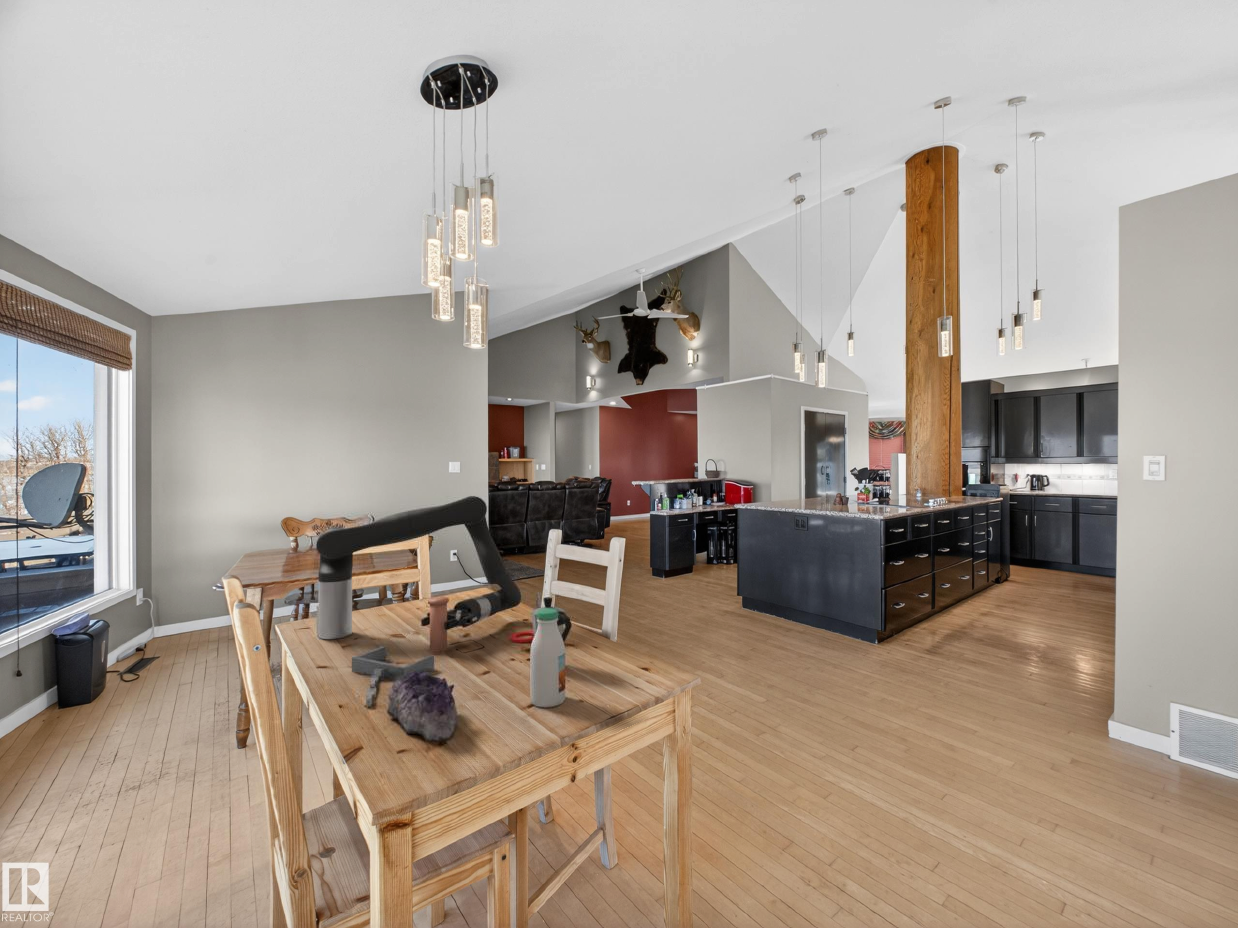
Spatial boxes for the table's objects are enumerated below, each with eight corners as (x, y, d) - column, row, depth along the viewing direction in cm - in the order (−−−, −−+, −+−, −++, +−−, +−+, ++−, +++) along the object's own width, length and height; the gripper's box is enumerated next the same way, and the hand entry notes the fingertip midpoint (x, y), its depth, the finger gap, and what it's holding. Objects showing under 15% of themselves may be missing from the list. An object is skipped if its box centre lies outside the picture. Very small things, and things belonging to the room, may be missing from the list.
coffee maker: (519, 665, 143) (519, 596, 143) (545, 657, 149) (545, 591, 149) (556, 680, 133) (556, 606, 133) (583, 670, 139) (583, 599, 139)
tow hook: (506, 644, 162) (540, 643, 161) (504, 597, 162) (537, 596, 161) (514, 635, 171) (545, 634, 170) (512, 590, 171) (543, 589, 170)
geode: (480, 730, 109) (475, 682, 108) (424, 759, 101) (417, 708, 100) (435, 695, 124) (430, 652, 122) (383, 718, 116) (377, 673, 115)
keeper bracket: (347, 673, 138) (347, 659, 139) (383, 659, 149) (383, 646, 149) (399, 684, 131) (399, 670, 131) (434, 669, 141) (434, 655, 141)
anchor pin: (423, 652, 153) (423, 600, 153) (438, 646, 158) (438, 596, 158) (438, 655, 151) (438, 602, 151) (453, 649, 156) (453, 598, 156)
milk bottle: (550, 711, 116) (550, 617, 116) (522, 703, 120) (522, 612, 120) (572, 698, 123) (572, 609, 123) (545, 691, 127) (545, 604, 127)
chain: (364, 707, 118) (364, 699, 118) (371, 679, 134) (371, 672, 134) (373, 706, 119) (373, 698, 119) (379, 678, 135) (379, 671, 135)
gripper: (454, 596, 171) (414, 608, 156) (491, 600, 165) (453, 613, 150) (454, 620, 171) (414, 634, 156) (491, 625, 165) (453, 641, 150)
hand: (433, 624), depth 153 cm, fingers open, 8 cm apart
